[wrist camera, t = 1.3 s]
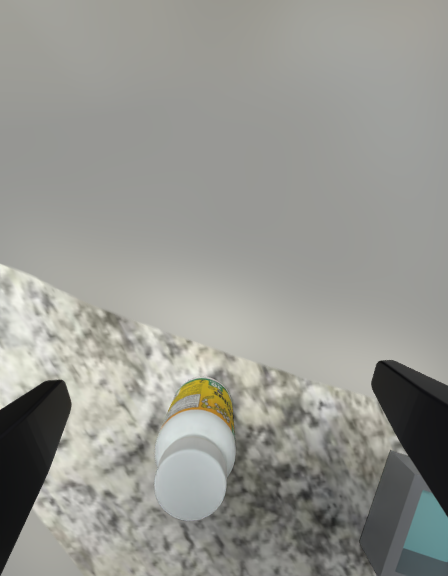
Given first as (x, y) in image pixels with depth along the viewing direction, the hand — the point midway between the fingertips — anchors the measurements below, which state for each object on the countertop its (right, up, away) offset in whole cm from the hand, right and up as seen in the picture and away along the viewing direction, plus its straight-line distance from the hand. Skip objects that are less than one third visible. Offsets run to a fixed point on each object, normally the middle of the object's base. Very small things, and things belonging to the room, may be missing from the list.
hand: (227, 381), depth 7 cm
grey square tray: (+18, -18, +16) cm, 30 cm away
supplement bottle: (-2, -8, +16) cm, 18 cm away
